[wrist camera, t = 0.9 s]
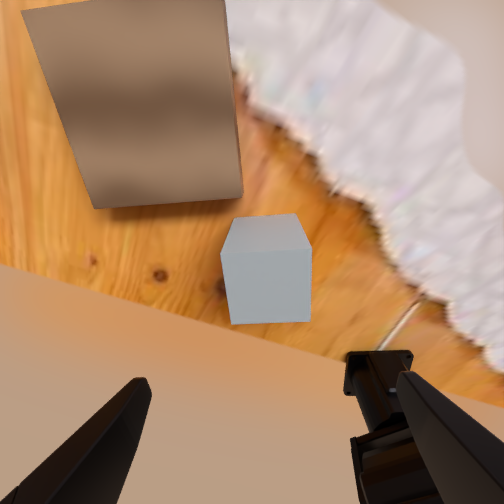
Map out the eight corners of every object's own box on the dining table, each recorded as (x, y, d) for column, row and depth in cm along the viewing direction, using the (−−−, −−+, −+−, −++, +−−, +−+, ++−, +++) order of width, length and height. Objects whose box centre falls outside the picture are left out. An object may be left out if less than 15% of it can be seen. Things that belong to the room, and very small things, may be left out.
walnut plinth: (243, 192, 18) (241, 197, 16) (110, 202, 19) (94, 209, 17) (225, 2, 14) (219, -19, 12) (50, 27, 15) (20, 10, 13)
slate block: (296, 267, 21) (310, 321, 15) (240, 270, 21) (231, 324, 15) (295, 213, 19) (312, 248, 13) (234, 217, 19) (220, 253, 13)
